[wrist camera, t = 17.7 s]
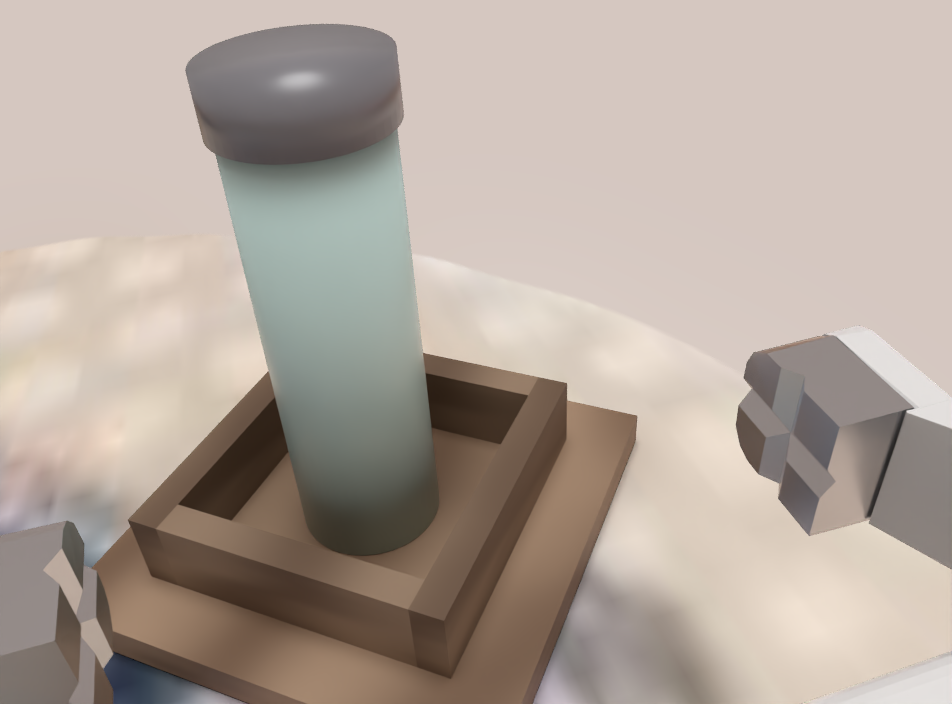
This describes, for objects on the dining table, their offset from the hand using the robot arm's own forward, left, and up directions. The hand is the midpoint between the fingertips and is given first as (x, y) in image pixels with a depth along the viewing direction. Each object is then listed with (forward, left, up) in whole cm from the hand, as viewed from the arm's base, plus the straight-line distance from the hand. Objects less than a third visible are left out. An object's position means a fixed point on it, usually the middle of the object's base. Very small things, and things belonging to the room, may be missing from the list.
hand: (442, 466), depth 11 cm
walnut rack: (-8, +10, -15) cm, 20 cm away
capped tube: (-8, +10, -14) cm, 19 cm away
